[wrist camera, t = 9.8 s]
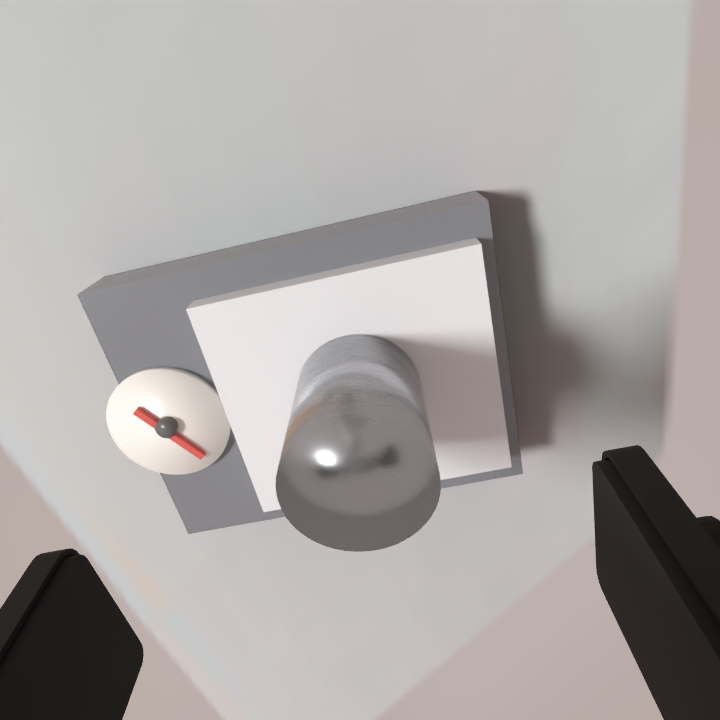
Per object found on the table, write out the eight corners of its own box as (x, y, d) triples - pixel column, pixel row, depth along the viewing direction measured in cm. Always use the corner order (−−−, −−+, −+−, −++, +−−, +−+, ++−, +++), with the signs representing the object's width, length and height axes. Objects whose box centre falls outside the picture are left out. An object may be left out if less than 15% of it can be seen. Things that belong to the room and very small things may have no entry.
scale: (80, 282, 19) (37, 309, 17) (475, 190, 18) (494, 205, 15) (181, 504, 23) (160, 552, 21) (509, 443, 22) (528, 487, 19)
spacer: (282, 348, 17) (254, 435, 13) (408, 322, 17) (425, 402, 12) (315, 452, 19) (300, 562, 14) (430, 430, 18) (452, 537, 14)
